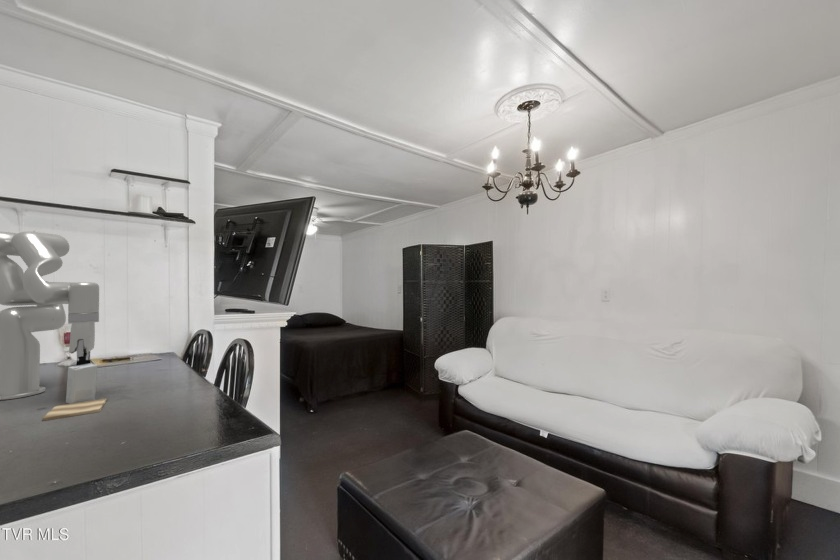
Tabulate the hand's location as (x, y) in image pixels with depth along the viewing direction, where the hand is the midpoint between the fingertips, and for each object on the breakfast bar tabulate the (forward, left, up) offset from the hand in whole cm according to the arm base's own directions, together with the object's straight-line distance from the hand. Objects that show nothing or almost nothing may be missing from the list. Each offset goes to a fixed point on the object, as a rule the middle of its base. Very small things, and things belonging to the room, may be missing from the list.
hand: (83, 372), depth 116 cm
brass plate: (+13, +1, -9) cm, 16 cm away
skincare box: (+3, 0, -9) cm, 10 cm away
